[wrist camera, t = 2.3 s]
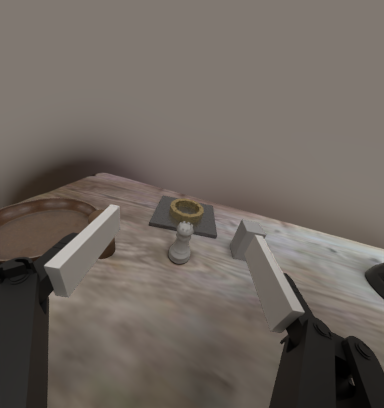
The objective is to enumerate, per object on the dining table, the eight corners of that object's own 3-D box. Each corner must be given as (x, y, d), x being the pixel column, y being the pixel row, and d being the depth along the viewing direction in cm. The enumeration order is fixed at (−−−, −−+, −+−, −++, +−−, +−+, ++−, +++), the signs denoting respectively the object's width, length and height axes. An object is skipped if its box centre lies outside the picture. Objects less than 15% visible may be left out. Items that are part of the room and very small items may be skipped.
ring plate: (211, 208, 50) (214, 200, 49) (215, 238, 37) (219, 229, 36) (162, 198, 49) (163, 190, 48) (149, 225, 36) (149, 215, 35)
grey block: (245, 248, 36) (259, 222, 32) (250, 261, 33) (266, 234, 29) (229, 245, 36) (241, 219, 32) (233, 258, 33) (247, 231, 29)
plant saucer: (101, 205, 40) (100, 195, 38) (101, 257, 27) (99, 245, 25) (2, 211, 31) (-4, 199, 29) (-69, 292, 18) (-86, 277, 16)
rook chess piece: (193, 256, 31) (202, 226, 27) (180, 269, 27) (188, 237, 24) (177, 244, 33) (184, 215, 29) (163, 255, 29) (168, 224, 26)
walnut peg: (114, 241, 30) (111, 204, 25) (116, 255, 27) (113, 216, 23) (92, 246, 28) (86, 206, 24) (92, 261, 25) (85, 219, 21)
